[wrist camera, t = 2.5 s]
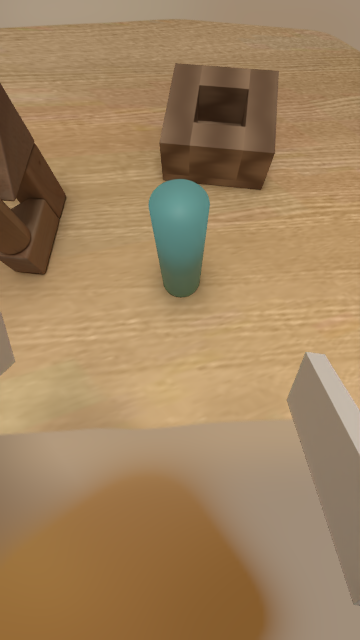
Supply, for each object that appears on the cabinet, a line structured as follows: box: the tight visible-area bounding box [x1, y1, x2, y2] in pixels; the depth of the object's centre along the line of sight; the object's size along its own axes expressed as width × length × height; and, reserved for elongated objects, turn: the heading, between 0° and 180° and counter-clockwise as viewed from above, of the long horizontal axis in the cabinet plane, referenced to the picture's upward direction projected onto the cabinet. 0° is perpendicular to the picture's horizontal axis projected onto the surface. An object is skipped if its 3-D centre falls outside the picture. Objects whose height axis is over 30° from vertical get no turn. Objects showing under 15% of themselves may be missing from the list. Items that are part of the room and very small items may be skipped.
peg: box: [149, 179, 210, 297], centre depth 23 cm, size 4×4×12 cm
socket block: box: [160, 63, 279, 190], centre depth 31 cm, size 12×12×5 cm
